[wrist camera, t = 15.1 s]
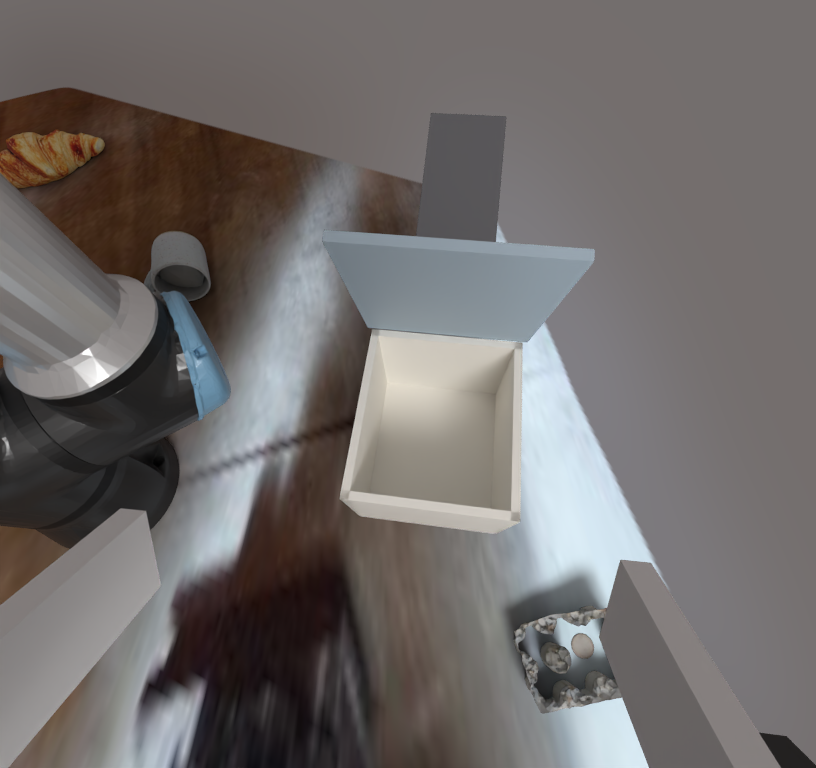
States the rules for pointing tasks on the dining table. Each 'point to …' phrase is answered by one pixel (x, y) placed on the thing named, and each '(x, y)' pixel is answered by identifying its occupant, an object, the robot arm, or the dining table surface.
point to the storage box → (438, 432)
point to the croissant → (46, 156)
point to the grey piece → (566, 664)
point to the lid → (457, 250)
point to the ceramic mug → (178, 266)
